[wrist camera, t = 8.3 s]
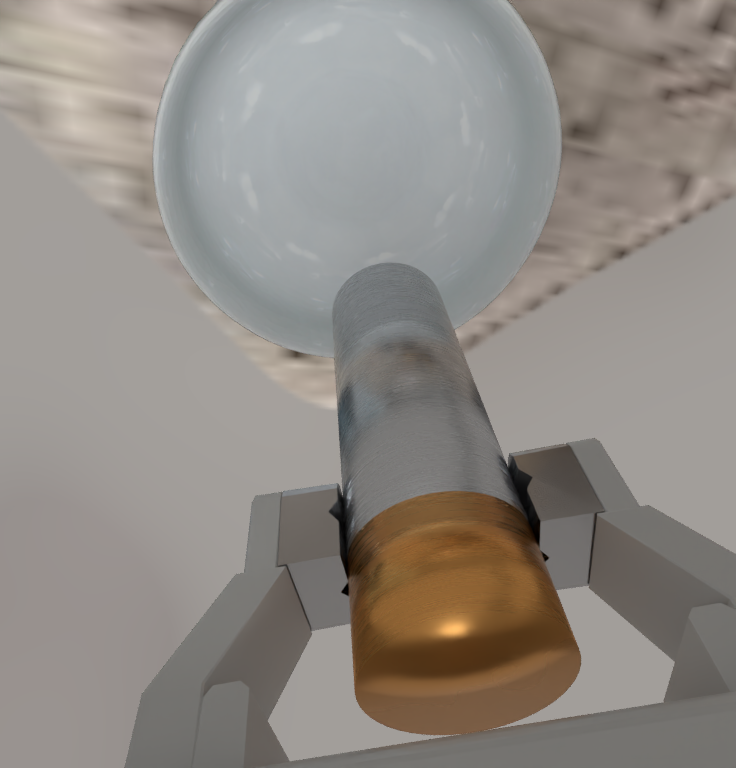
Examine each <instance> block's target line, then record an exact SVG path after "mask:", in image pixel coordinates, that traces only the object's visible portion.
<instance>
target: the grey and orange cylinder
mask: <svg viewBox="0 0 736 768" xmlns="http://www.w3.org/2000/svg"><path fill="white" fill-rule="evenodd" d="M332 326H333V343H334V359H335V375H336V392H337V408H338V424H339V441H340V457H341V474H342V489H343V505H344V520H345V539H346V553H347V570H348V588H349V605H350V621H351V637H352V653H353V670H354V686H355V695H356V700H357V702H358V704H359V706H360V707H361V708H362V710H363V711H364V712H365V713H366V714H367V715H368V716H369V717H371V718H372V719H374V720H375V721H377V722H379V723H381V724H383V725H385V726H387V727H390V728H393V729H397V730H400V731H405V732H409V733H416V734H426V735H454V734H465V733H473V732H478V731H484V730H488V729H492V728H497V727H500V726H504V725H507V724H510V723H513V722H515V721H518V720H521V719H523V718H525V717H528V716H530V715H532V714H534V713H536V712H538V711H540V710H541V709H543V708H545V707H547V706H548V705H550V704H551V703H553V702H554V701H555V700H557V699H558V698H559V697H560V696H561V695H563V694H564V693H565V692H566V691H567V689H568V688H569V687H570V686H571V685H572V683H573V682H574V681H575V679H576V677H577V675H578V673H579V670H580V666H581V655H580V651H579V648H578V645H577V643H576V640H575V638H574V635H573V632H572V630H571V628H570V625H569V622H568V620H567V617H566V615H565V612H564V609H563V607H562V604H561V602H560V599H559V597H558V594H557V592H556V589H555V586H554V584H553V581H552V579H551V576H550V574H549V571H548V569H547V566H546V563H545V561H544V558H543V556H542V553H541V551H540V548H539V546H538V543H537V540H536V538H535V535H534V533H533V530H532V528H531V525H530V523H529V520H528V517H527V515H526V512H525V510H524V507H523V505H522V502H521V500H520V497H519V494H518V492H517V489H516V487H515V484H514V482H513V479H512V477H511V474H510V471H509V469H508V466H507V464H506V461H505V459H504V456H503V454H502V451H501V449H500V446H499V444H498V441H497V438H496V436H495V433H494V431H493V428H492V425H491V423H490V421H489V418H488V415H487V413H486V410H485V408H484V405H483V403H482V400H481V397H480V395H479V392H478V390H477V387H476V385H475V382H474V380H473V377H472V374H471V372H470V369H469V367H468V364H467V362H466V359H465V357H464V354H463V351H462V349H461V346H460V344H459V341H458V339H457V336H456V334H455V331H454V328H453V326H452V323H451V321H450V318H449V316H448V313H447V311H446V308H445V305H444V303H443V300H442V298H441V295H440V293H439V291H438V289H437V287H436V285H435V284H434V282H433V281H432V280H431V279H430V278H429V277H428V276H427V275H426V274H425V273H423V272H422V271H420V270H419V269H417V268H415V267H412V266H410V265H406V264H402V263H391V262H387V263H379V264H375V265H371V266H369V267H366V268H364V269H362V270H360V271H358V272H357V273H355V274H354V275H352V276H351V277H350V278H349V279H348V280H347V281H346V282H345V283H344V284H343V285H342V286H341V288H340V290H339V291H338V293H337V295H336V297H335V300H334V303H333V308H332Z"/></svg>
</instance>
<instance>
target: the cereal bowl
mask: <svg viewBox="0 0 736 768" xmlns="http://www.w3.org/2000/svg"><path fill="white" fill-rule="evenodd" d="M561 154H562V130H561V118H560V110H559V104H558V99H557V95H556V91H555V87H554V84H553V81H552V78H551V75H550V72H549V69H548V66H547V63H546V61H545V58H544V56H543V54H542V52H541V50H540V48H539V46H538V44H537V42H536V40H535V38H534V36H533V34H532V33H531V31H530V30H529V28H528V27H527V25H526V24H525V22H524V21H523V19H522V18H521V16H520V15H519V14H518V12H517V11H516V9H515V8H514V7H513V6H512V5H511V3H510V2H509V1H508V0H218V1H217V2H216V3H215V5H214V6H213V7H212V8H211V9H210V10H209V11H208V12H207V13H206V14H205V16H204V17H203V18H202V19H201V20H200V21H199V22H198V23H197V25H196V27H195V28H194V30H193V31H192V32H191V34H190V35H189V36H188V38H187V40H186V42H185V44H184V45H183V46H182V48H181V50H180V52H179V54H178V55H177V57H176V59H175V61H174V64H173V66H172V69H171V71H170V74H169V77H168V79H167V81H166V83H165V86H164V89H163V93H162V97H161V101H160V104H159V108H158V112H157V117H156V123H155V131H154V139H153V177H154V185H155V191H156V197H157V202H158V207H159V211H160V215H161V218H162V221H163V224H164V227H165V230H166V233H167V235H168V238H169V240H170V242H171V245H172V247H173V249H174V250H175V252H176V254H177V256H178V258H179V260H180V262H181V263H182V265H183V266H184V268H185V270H186V271H187V273H188V274H189V275H190V277H191V278H192V279H193V281H194V282H195V283H196V284H197V286H198V287H199V288H200V289H201V290H202V291H203V293H204V294H205V295H206V296H207V297H208V298H209V299H210V300H211V301H212V302H213V303H214V304H215V305H216V306H217V307H218V308H219V309H220V310H222V311H223V312H224V313H225V314H226V315H228V316H229V317H230V318H231V319H233V320H234V321H236V322H237V323H238V324H240V325H241V326H243V327H244V328H246V329H247V330H249V331H251V332H252V333H254V334H256V335H257V336H259V337H261V338H263V339H265V340H267V341H270V342H272V343H274V344H276V345H279V346H282V347H284V348H287V349H290V350H294V351H297V352H301V353H305V354H309V355H315V356H321V357H329V358H334V343H333V326H332V308H333V303H334V300H335V297H336V295H337V293H338V291H339V290H340V288H341V286H342V285H343V284H344V283H345V282H346V281H347V280H348V279H349V278H350V277H351V276H352V275H354V274H355V273H357V272H358V271H360V270H362V269H364V268H366V267H369V266H371V265H375V264H379V263H387V262H391V263H402V264H406V265H410V266H412V267H415V268H417V269H419V270H420V271H422V272H423V273H425V274H426V275H427V276H428V277H429V278H430V279H431V280H432V281H433V282H434V284H435V285H436V287H437V289H438V291H439V293H440V295H441V298H442V300H443V303H444V305H445V308H446V311H447V313H448V316H449V318H450V321H451V323H452V326H453V328H454V330H455V329H457V328H458V327H460V326H461V325H463V324H464V323H466V322H467V321H469V320H470V319H471V318H473V317H474V316H476V315H477V314H478V313H479V312H481V311H482V310H483V309H484V308H486V307H487V306H488V305H489V304H490V303H491V302H492V301H493V300H494V299H495V298H496V297H497V296H498V295H499V294H500V293H501V292H502V291H503V290H504V289H505V287H506V286H507V285H508V284H509V283H510V282H511V280H512V279H513V278H514V277H515V275H516V274H517V272H518V271H519V270H520V268H521V267H522V266H523V264H524V263H525V261H526V260H527V258H528V256H529V255H530V253H531V251H532V250H533V248H534V246H535V244H536V242H537V241H538V239H539V237H540V235H541V232H542V230H543V228H544V225H545V223H546V221H547V218H548V216H549V213H550V210H551V207H552V204H553V200H554V197H555V193H556V189H557V185H558V179H559V173H560V166H561Z"/></svg>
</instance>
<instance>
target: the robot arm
mask: <svg viewBox="0 0 736 768" xmlns="http://www.w3.org/2000/svg"><path fill="white" fill-rule="evenodd" d="M508 469H509V471H510V474H511V477H512V479H513V482H514V484H515V487H516V489H517V492H518V494H519V497H520V500H521V502H522V505H523V507H524V510H525V512H526V515H527V517H528V520H529V523H530V525H531V528H532V530H533V533H534V535H535V538H536V540H537V543H538V546H539V548H540V551H541V553H542V556H543V558H544V561H545V563H546V566H547V569H548V571H549V574H550V576H551V579H552V581H553V584H554V586H555V589H556V590H559V589H567V588H574V587H581V586H589V588H590V589H591V590H592V591H593V592H594V593H595V594H597V595H598V596H599V597H600V598H601V599H602V600H604V601H605V602H606V603H607V604H608V605H610V606H611V607H612V608H613V609H614V610H615V611H616V612H617V613H619V614H620V615H621V616H622V617H623V618H624V619H626V620H627V621H628V622H629V623H630V624H631V625H633V626H634V627H635V628H636V629H637V630H638V631H640V632H641V633H642V634H643V635H644V636H645V637H647V638H648V639H649V640H650V641H651V642H652V643H654V644H655V645H656V646H657V647H658V648H659V649H661V650H662V651H663V652H664V653H665V654H666V655H668V656H669V657H670V658H671V659H672V660H673V661H675V664H674V667H673V671H672V674H671V678H670V681H669V685H668V688H667V692H666V695H665V698H664V703H658V704H651V705H645V706H639V707H632V708H626V709H619V710H613V711H607V712H600V713H594V714H588V715H581V716H575V717H568V718H562V719H556V720H549V721H543V722H537V723H530V724H524V725H517V726H511V727H505V728H499V729H493V730H486V731H480V732H473V733H467V734H461V735H454V736H448V737H442V738H435V739H429V740H423V741H416V742H410V743H404V744H398V745H391V746H385V747H379V748H372V749H366V750H360V751H353V752H347V753H341V754H334V755H328V756H322V757H315V758H309V759H303V760H296V761H289V759H288V757H287V755H286V754H285V752H284V750H283V748H282V746H281V745H280V743H279V741H278V739H277V737H276V735H275V734H274V732H273V730H272V728H271V726H270V724H269V723H268V719H269V717H270V715H271V713H272V711H273V709H274V707H275V705H276V703H277V701H278V699H279V697H280V695H281V693H282V692H283V690H284V688H285V686H286V684H287V682H288V680H289V678H290V676H291V674H292V672H293V670H294V668H295V666H296V664H297V662H298V660H299V659H300V657H301V655H302V653H303V651H304V649H305V647H306V645H307V642H308V641H309V639H310V637H311V635H312V633H311V631H314V630H319V629H324V628H330V627H335V626H340V625H345V624H350V623H351V621H350V605H349V588H348V570H347V553H346V539H345V520H344V505H343V496H342V492H341V489H340V486H339V484H338V483H336V484H330V485H323V486H316V487H309V488H302V489H295V490H288V491H283V492H279V493H272V494H265V495H257V496H255V498H254V500H253V502H252V507H251V516H250V526H249V534H248V543H247V552H246V560H245V569H244V573H240V574H236V575H235V576H234V577H233V578H232V580H231V581H230V582H229V584H228V585H227V586H226V587H225V589H224V590H223V591H222V593H221V594H220V595H219V596H218V598H217V599H216V600H215V602H214V603H213V604H212V605H211V607H210V608H209V609H208V610H207V612H206V613H205V614H204V615H203V617H202V618H201V619H200V621H199V622H198V623H197V625H196V626H195V627H194V628H193V629H192V631H191V632H190V633H189V634H188V636H187V637H186V638H185V640H184V641H183V642H182V643H181V645H180V646H179V647H178V649H177V650H176V651H175V652H174V654H173V655H172V656H171V657H170V659H169V660H168V661H167V663H166V664H165V665H164V666H163V668H162V669H161V670H160V672H159V673H158V674H157V675H156V677H155V678H154V679H153V680H152V682H151V683H150V684H149V685H148V687H147V688H146V689H145V691H144V692H143V693H142V695H141V700H140V704H139V708H138V712H137V717H136V721H135V725H134V729H133V734H132V738H131V742H130V746H129V751H128V755H127V759H126V763H125V767H124V768H736V554H734V553H733V552H731V551H729V550H727V549H726V548H724V547H722V546H720V545H719V544H717V543H715V542H713V541H712V540H710V539H708V538H706V537H704V536H703V535H701V534H699V533H697V532H695V531H694V530H692V529H690V528H688V527H686V526H685V525H683V524H681V523H680V522H678V521H676V520H674V519H672V518H671V517H669V516H667V515H665V514H664V513H662V512H660V511H658V510H657V509H655V508H653V507H651V506H649V505H647V506H639V504H638V503H637V501H636V499H635V498H634V496H633V495H632V493H631V491H630V490H629V488H628V486H627V485H626V483H625V482H624V480H623V478H622V477H621V475H620V473H619V472H618V470H617V469H616V467H615V465H614V464H613V462H612V461H611V459H610V457H609V456H608V454H607V453H606V451H605V449H604V448H603V446H602V444H601V443H600V441H598V440H597V439H595V438H592V439H586V440H581V441H576V442H570V443H566V444H559V445H554V446H548V447H542V448H537V449H532V450H526V451H520V452H515V453H509V457H508Z"/></svg>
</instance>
